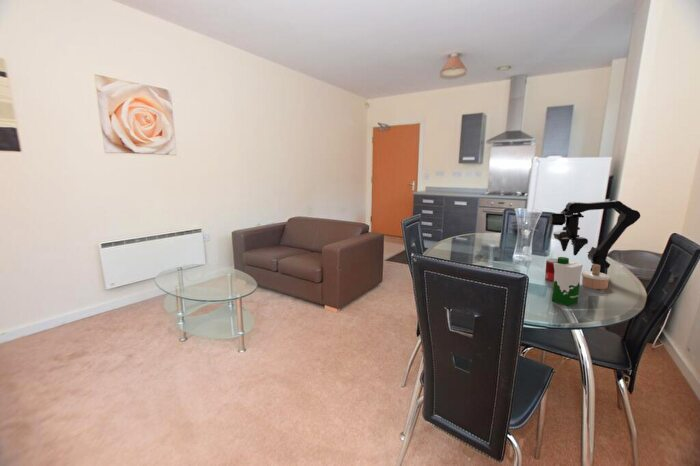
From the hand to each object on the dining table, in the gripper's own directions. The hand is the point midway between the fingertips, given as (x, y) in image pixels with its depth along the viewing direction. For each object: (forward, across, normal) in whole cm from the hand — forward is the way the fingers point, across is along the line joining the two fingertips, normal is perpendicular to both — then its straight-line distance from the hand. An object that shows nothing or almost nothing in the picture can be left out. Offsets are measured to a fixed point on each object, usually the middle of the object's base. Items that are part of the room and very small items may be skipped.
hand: (569, 253), depth 170 cm
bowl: (+12, +18, +2) cm, 22 cm away
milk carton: (+13, +37, -24) cm, 46 cm away
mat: (+12, +24, -8) cm, 28 cm away
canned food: (+13, +8, -12) cm, 19 cm away
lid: (+8, +18, +2) cm, 20 cm away
